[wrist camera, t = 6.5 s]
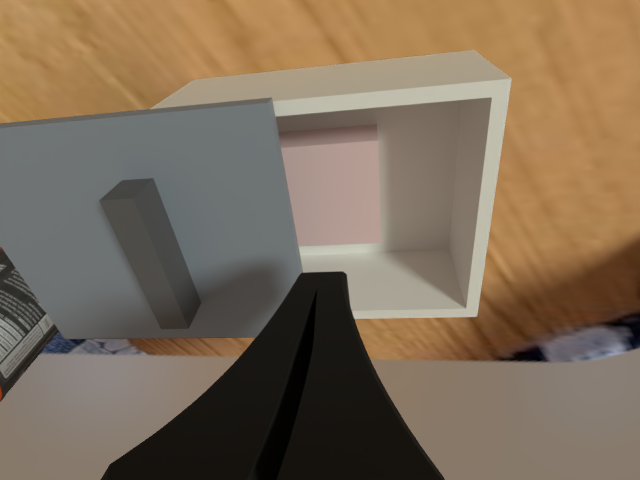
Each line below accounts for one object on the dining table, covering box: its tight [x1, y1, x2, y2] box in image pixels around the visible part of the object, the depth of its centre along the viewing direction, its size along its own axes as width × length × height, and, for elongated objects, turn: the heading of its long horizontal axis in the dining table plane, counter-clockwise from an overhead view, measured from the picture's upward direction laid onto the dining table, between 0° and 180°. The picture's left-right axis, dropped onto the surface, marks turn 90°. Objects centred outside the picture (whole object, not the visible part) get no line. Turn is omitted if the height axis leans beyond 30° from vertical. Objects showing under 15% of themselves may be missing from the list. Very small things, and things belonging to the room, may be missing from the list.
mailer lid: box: [0, 97, 303, 339], centre depth 16 cm, size 12×10×2 cm
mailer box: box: [150, 50, 511, 319], centre depth 18 cm, size 12×10×5 cm
